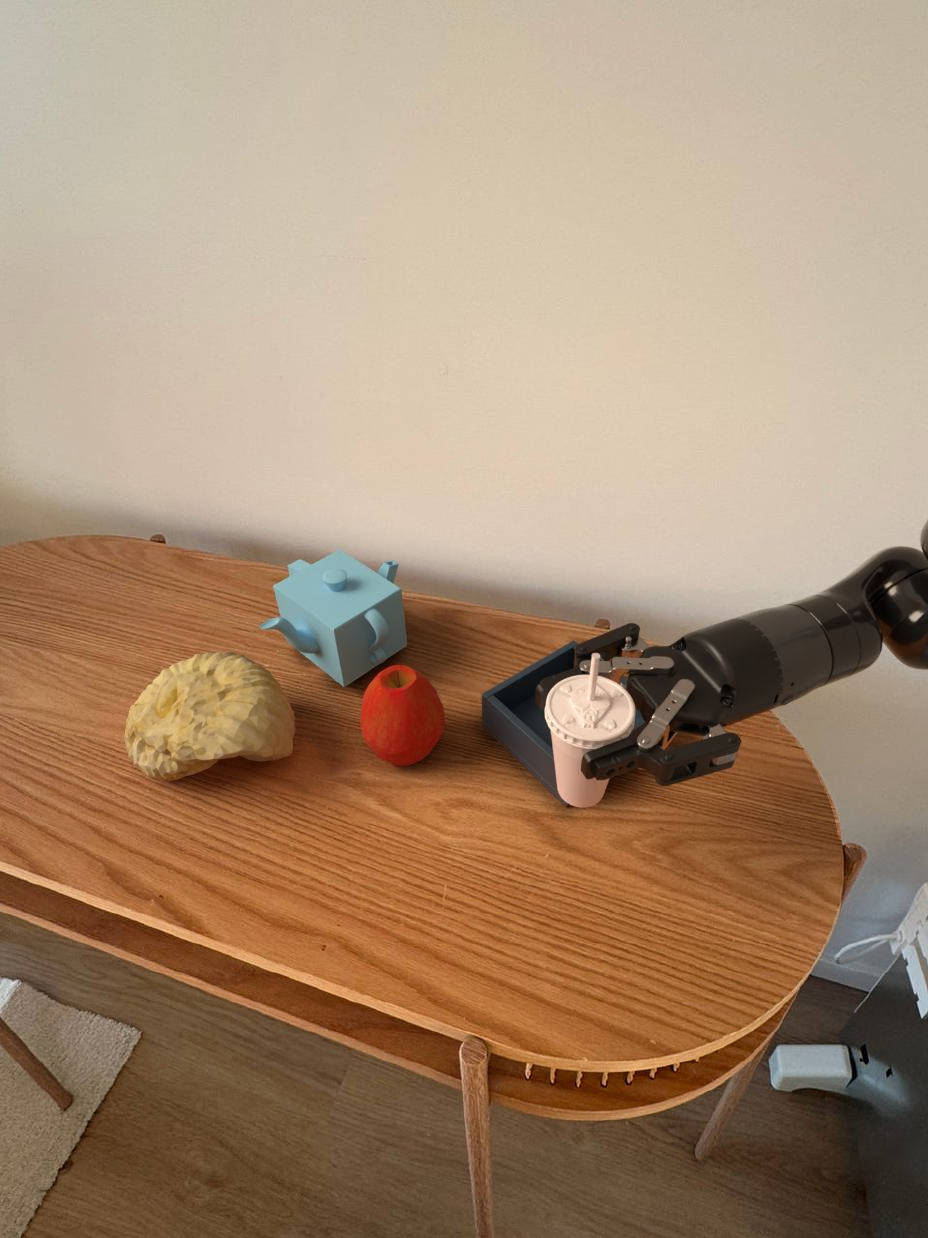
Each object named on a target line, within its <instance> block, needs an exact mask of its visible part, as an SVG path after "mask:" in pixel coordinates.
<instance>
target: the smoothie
mask: <svg viewBox="0 0 928 1238" xmlns="http://www.w3.org/2000/svg"><path fill="white" fill-rule="evenodd" d="M599 662H600V655H599V654H598V653H593V654H592V659H591V668H590V675H577V676H572V677H569V678H566V679H564V680H562V681H560V682H559V683H557V684H556V685H555V686H554V687H553V688H552V689H551V690H550V692H549V694H548V696H547V699H546V706H545V719H546V722H547V724H548V727H549V728H550V729H551V737H552V745H553V754H554V763H555V771H556V780H557V788H558V792H559V795H560V796H561V798H562V799H563V800H564V801H565V802H567V803H568V804H570V805H569V806H573V807H576V808H584V809H585V808H590V807H593V806H595V805H597V804H598V803H599V802H600V801H602V799H603V797H604V794H605V793H606V789H607V786H608V784H609V782H610V779H611V778H609V779H606V780H596V778H592V779H586V778H585V776H584V775H583V773H582V772H581V762H582V757H583V755H584V754H585V753H587V752H589V751H592V750H594V749H597V748H600V747H602V746H605V745H608V744H611V743H613V742H616V741H619V740H621V739H624V738H627V737H628V736H629V735H630V733H631V731H632V730H633V728H634V723H635V704H634V701H633V699H632V697H631V696H630V694H629V693H628V692H627V691H626V690H625V689H624V688H623V687H622V686H621V685H619V684H618V683H616V682H614V681H612V680H610V679H607V678H605V677H601V676H598V670H599Z"/></svg>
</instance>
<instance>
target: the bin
mask: <svg viewBox="0 0 928 1238" xmlns="http://www.w3.org/2000/svg"><path fill="white" fill-rule="evenodd" d="M578 644H579V643H578V642H577V641H576V640H573V639H572V641H570V642H568V643H565V644H564V645H563V646H561V647H560V648H558V649H556V650H554V651H552V652H551V653H549V654H547V655H545V656H544V657H542V658H540V659H539V660H537V661H535V662H534V663H532V664H530V665H529V666H527V667H525V668H524V669H522V670H520V671H519V672H517V673H515V674H513V675H512V676H510V677H508V678H507V679H505V680H503V681H501V682H500V683H498V684H496V685H495V686H493V687H491V688H489V689H487V690H486V691H485V692H483V693H481V727H482V729H484V730H485V731H486V732H487V734H489V736H491V737H492V738H494V740H495V741H496V742H497V743H499V745H500V746H501V747H503V749H504V750H506V751H507V752H508V753H509V754H510V755H511V756H512V757H513V758H514V759H515V760H516V761H517V762H518V763H519V764H520V765H521V766H522V767H524V769H526V770H527V772H529V774H530V775H532V776H533V778H535V780H537V781H538V782H539V783H540V784H541V785H542V786H543V787H544V788H545V789H546V790H547V791H549V792H550V794H552V795H553V796H554V798H556V799H557V800H558V801H559V802H560V804H562V805H563V806H564V807H565V808H568V807H569V806H571V805H570V804H568V803H567V802H565V801H564V800H563V799H562V798H561V796H560V795H559V792H558V788H557V780H556V771H555V763H554V754H553V745H552V737H551V729H550V728H549V727H548V724H547V722H546V719H545V709H540V708H539V706H538V705H537V703H536V702H535V693H536V687H537V686H538V685H539V684H540V681H541V680H543V679H544V678H546V677H549V676H552V675H555V674H556V675H557V674H558V673H561V672H564V671H568V670H571V669H573V668H574V659H575V648H576V646H577V645H578ZM601 677H605V678H609V677H606V676H601ZM627 680H628V679H627V678H625V677H624V676H623V675H622V676H621V681H620V683H621V684H627ZM646 726H647V724H646V723H645V721H644V720H643V718H642V716H641V713H640V711H638V710H637V709H636V708H635V723H634V728H633V730H632V731H631V733H630V735H629V736H628V737H631V739H632V740H633V741H635V740H637V737H638V736H639V735H640V734H641V732H642V731H643V730H644V729H645V727H646Z"/></svg>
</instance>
